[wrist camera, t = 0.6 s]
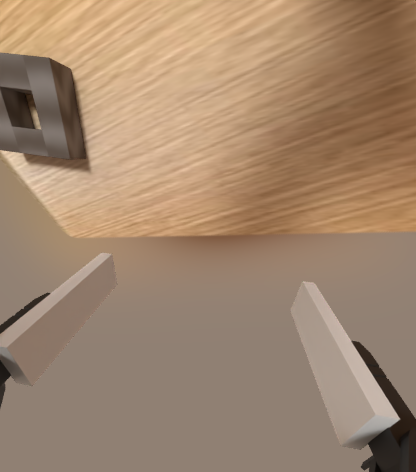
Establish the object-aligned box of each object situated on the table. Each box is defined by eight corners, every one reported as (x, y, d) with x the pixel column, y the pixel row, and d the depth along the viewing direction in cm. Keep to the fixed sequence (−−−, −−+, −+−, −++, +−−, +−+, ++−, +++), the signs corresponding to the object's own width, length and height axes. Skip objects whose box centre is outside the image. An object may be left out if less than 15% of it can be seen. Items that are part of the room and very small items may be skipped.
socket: (-7, 60, 31) (-38, 48, 27) (70, 68, 30) (49, 57, 27) (21, 149, 37) (-1, 149, 33) (85, 158, 36) (70, 159, 33)
